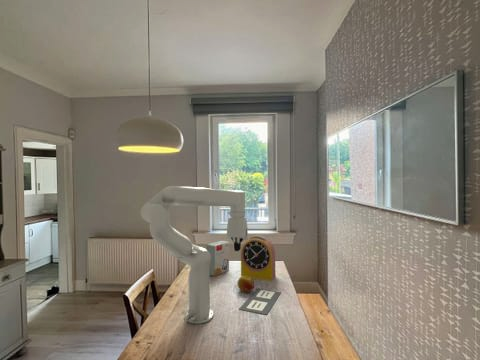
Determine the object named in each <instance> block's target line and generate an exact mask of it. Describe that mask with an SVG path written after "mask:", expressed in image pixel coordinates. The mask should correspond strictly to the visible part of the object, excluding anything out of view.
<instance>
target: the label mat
mask: <svg viewBox="0 0 480 360" xmlns="http://www.w3.org/2000/svg"><path fill="white" fill-rule="evenodd" d="M281 293H282V292H281V291H279V290H278V291H276V290H270V289H264V288H256V289H255V290H254V291H253V292H252V294H250V296H249V297H248V298H247V299H246V300H245V301H244V303H242V305H241V306H240V307H239V309H238V310H240V311H246V312H250V313H255V314H260V315H264V316H267V315H268V314H269V313H270V311H271V310H272V308H273V306H274V304H275V303H276V302H277V300H278V298H279V297H280V295H281Z"/></svg>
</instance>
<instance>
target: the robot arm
mask: <svg viewBox="0 0 480 360" xmlns="http://www.w3.org/2000/svg"><path fill="white" fill-rule="evenodd" d="M171 206H176V207H177V206H181V207H182V206H183V207H184V206H185V207H193V206H194V207H230V210H229V212H228V214H227V215H229V216H228V218H227V219H228V220H227V227H226V236H227V239H230V240H231V241H232V242H233V249H234V252H239V251H241V249H242V247H241V243H242V242H243V241H248V221H247V218H246V192H245V191H243V190H228V189H214V188H207V187H197V186H195V187H193V186H183V185H182V186H180V185H170V186H169V185H168V186H166V187H165V188H163V189H162V190H160V191H159V192H158V193H156V195H154V196H153V197H152V198H150V199H149V200H148V201H147V202H146V203H144V205H142V206H141V210H140V216H141V218H142V219H143V221H145V222H147V223H149V232H150V236H151V238H152V239H153V240H154V241H155V242H156V243H158V245H160V246H161V247H163V250H164V252H166V253H168V254H169V255H170V256H172V257H174V258H176V259H177V260H179V261H180V262H182V263H184V264H186V265H187V266H189V267H190V270H189V274H188V281H187V282H188V284H187V285H188V310H187V312H186V314H185V317H183V319H182V320H183V322H184V323H187V322H188V323H190V324H193V325H195V324H196V325H197V324H198V325H200V324H201V325H202V324H205V323H207V322H209V321H211V320H212V319H213V317H214V311H213V310H212V309H211V301H210V300H211V297H210V296H211V295H210V291H211V289H210V284H211V283H210V275H209V274H210V265H211V255H210V253H209V252H208V250H207V248H205V247H202V246H199V245H197V244H193V242H192V241H191V239H190V238H189V237H188V236H186V235H185V234H182V233H181V232H180V231H178V230H177V229H175V227H173V226H172V225H171V222H170V221H171V220H170V210H169V208H170V207H171Z"/></svg>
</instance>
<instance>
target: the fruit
mask: <svg viewBox="0 0 480 360" xmlns="http://www.w3.org/2000/svg"><path fill="white" fill-rule="evenodd" d="M237 287H238V289H239V290H241V291H242V292H244V293H249V292H251V291H252V290H253V289H254V287H255V281H254V278H251V277H249V276H241V275H240V277H239V279H238V281H237Z"/></svg>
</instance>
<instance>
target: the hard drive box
mask: <svg viewBox="0 0 480 360" xmlns="http://www.w3.org/2000/svg"><path fill="white" fill-rule="evenodd" d="M206 250H208V252H209V253H210V255H211V265H210V274H209V276H213V277H216V276H219V275H221V274H223V273H226V272H229V271H230V241H226V240H219V241H214V242H211V243H208V244H206Z"/></svg>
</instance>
